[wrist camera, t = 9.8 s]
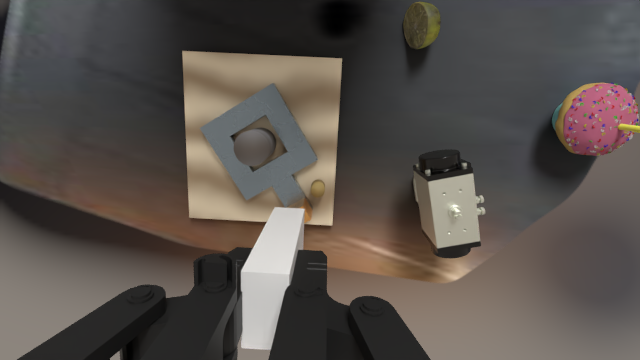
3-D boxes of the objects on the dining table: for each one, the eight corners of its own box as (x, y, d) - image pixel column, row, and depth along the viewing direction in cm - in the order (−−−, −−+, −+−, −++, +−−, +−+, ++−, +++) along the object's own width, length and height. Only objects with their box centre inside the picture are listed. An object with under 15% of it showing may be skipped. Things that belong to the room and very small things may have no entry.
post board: (186, 52, 43) (158, 42, 36) (341, 59, 43) (344, 50, 36) (192, 215, 48) (169, 234, 41) (332, 222, 48) (332, 243, 41)
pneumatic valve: (414, 229, 48) (442, 270, 36) (402, 148, 45) (428, 164, 33) (453, 222, 47) (495, 261, 35) (443, 140, 45) (484, 153, 33)
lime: (415, 57, 42) (426, 51, 38) (389, 28, 42) (397, 17, 37) (442, 30, 42) (457, 20, 37) (416, 0, 41) (428, -14, 36)
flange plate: (203, 127, 44) (187, 130, 39) (274, 83, 42) (267, 80, 37) (269, 231, 47) (262, 245, 42) (338, 193, 45) (339, 203, 40)
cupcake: (616, 104, 43) (724, 105, 31) (576, 162, 45) (663, 183, 33) (561, 72, 42) (650, 61, 31) (522, 132, 44) (591, 143, 32)
